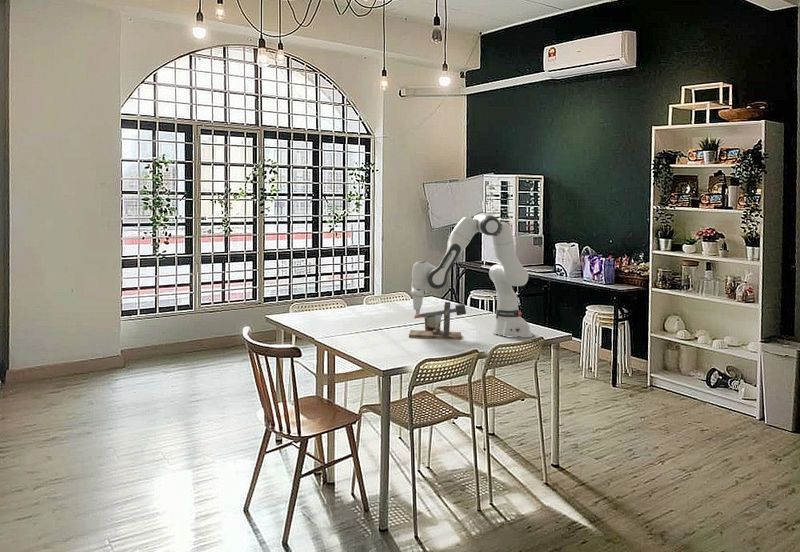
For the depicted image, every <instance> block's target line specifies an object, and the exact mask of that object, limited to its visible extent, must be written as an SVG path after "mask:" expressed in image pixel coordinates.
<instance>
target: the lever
mask: <svg viewBox="0 0 800 552" xmlns="http://www.w3.org/2000/svg"><path fill="white" fill-rule="evenodd" d="M454 305H455V308H450V314H451V313H452V314H453V313H456V316H462V315H466V314H467V310H466V305H465V303H464V302H463V303H460V304H459V303H458V304H454ZM441 314H442V315H444V309H443V310H437V311H429V313H428V312H423V313H420V314H419V316H416V314H414V317H413V318H414V319H419V318H420V319H421V318H423V317H428V316H435V320H436V323H438V322H442V316H441Z"/></svg>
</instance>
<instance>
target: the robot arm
mask: <svg viewBox="0 0 800 552" xmlns="http://www.w3.org/2000/svg"><path fill="white" fill-rule="evenodd" d="M477 233H481V234H484V235H486V236H491V238H492V243H493V249H494V255H495V258H496V259H497V260H498V261H499V263H497V264H493V265H491V266H490V268H489V272H488V275H489V279H490V280H491V281H492V282H493V284H494V287H495V291H496V309H495V324H494V329H493V332H492V334H494V335H496V334H498V335H497V336H500V335H503V336H521V337H520V338H533V337H534V336H533V335H534V332H533V331H531V330H530V324H529V323H528V322H527V321H526V320H525V319H524V318H522V316H521V315H522V312H521V310H519V309H518V294H517V293H516V292H515V290H514V289H513V287H523V286H525V285H526V284H527V283H528V281H529V273H528V270H527V269H526V268H524V266H523V265H522V263H521V262H520V260H519V258H518V256H517V252H516V248H515V242H514V236H513V232H512V229H511V226H510V224H509V223H508V222H506V221H500V220H499V219H498V218H497V217H496V216H494V215H492V214H491V213H487V212H484V211H482V212H481V211H480V212H478V213H475V214H474V215H472V216H463V217H462V218H461V219H460V220H459V222H457V224H456V225H455V226H454V228H453V229H452V231H451V233H450V234H449V236H448V239H447V246H446V251H445V252H446V253H445V254H444V256H443V258H442V259H441V261H440V263H439V264H438V266H435V265H433V264H431V263H429V262H428V260H418V261H415V262H414V263H413V265H412V270H411V279H412V281H411V283H410V284H411V285H410V286H411V287H410V294H411V296H412V305H413V306H412V307H413V308H412V309H413V310H415V315H416V316H419V314H421V313H420V310H421V308H422V306H423V303H424V301H423V299H424V298H425V297H426V296H425V295H427V294H428V285H429V287H431V288H433V289H435V290H436V289H437V290H439V289H442V288H443V287H445V286H446V284H447V282H448V275H449V273H450V271H451V269H452V267H453V266H454V264H455V262H456V260H457V258H458V257H459V256H460V255H461V254H462V253H463V251H464V250H466V248H467V246H468V245H469V244H470V242H471V240H472V239H473V237H474V236H475V234H477ZM503 336H502V337H503ZM532 336H533V337H532Z"/></svg>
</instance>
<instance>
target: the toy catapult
mask: <svg viewBox="0 0 800 552" xmlns="http://www.w3.org/2000/svg"><path fill="white" fill-rule="evenodd" d="M443 307H444V308H443V310H444V314H443V330H442V329H441V325H440V326H438V325H437V326H436V327H435V330H433V331H425V330H420V329H411V330H410V332H409V334H408V338H410V339H411V338H415V339H417V338H418V339H436V340H457V341H459V340H460V341H461V340H462V332H461V331H450V323H451V321H450V320H451V313H450V309H451V301H450V302H449V301H444V305H443Z"/></svg>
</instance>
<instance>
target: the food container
mask: <svg viewBox="0 0 800 552" xmlns="http://www.w3.org/2000/svg"><path fill="white" fill-rule="evenodd" d="M429 312H430V311H429ZM429 312H427V313H429ZM441 317H443V314H441ZM422 318H423V319H424V331H433V330H435V327H436V326H437V325H438V326H440V327H441V322H442V321H441V322H438V323H436V320H435V316H428V317H422Z"/></svg>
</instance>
